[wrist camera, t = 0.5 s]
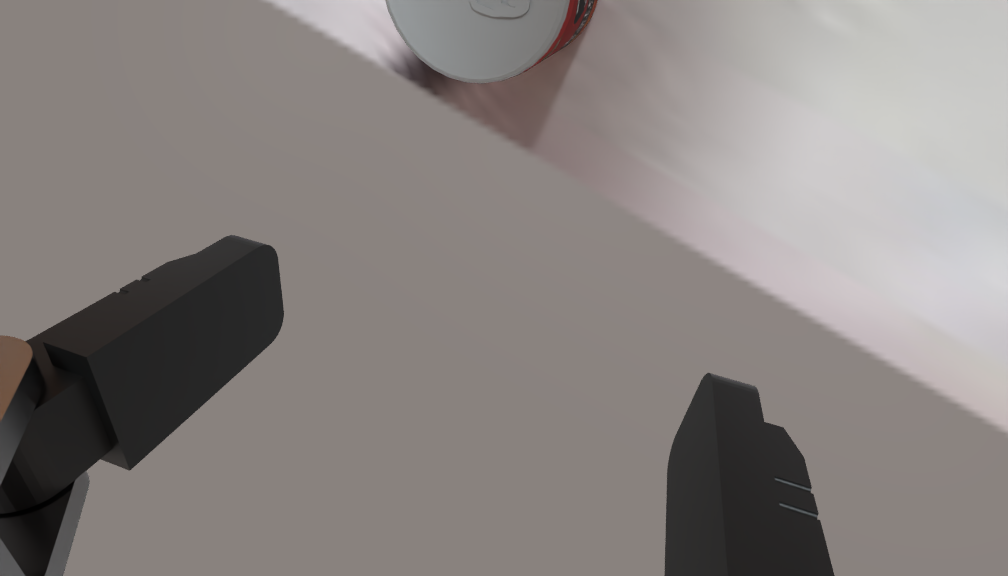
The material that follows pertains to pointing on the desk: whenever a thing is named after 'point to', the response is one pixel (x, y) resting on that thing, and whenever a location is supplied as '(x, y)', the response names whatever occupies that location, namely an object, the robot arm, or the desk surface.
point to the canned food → (488, 33)
